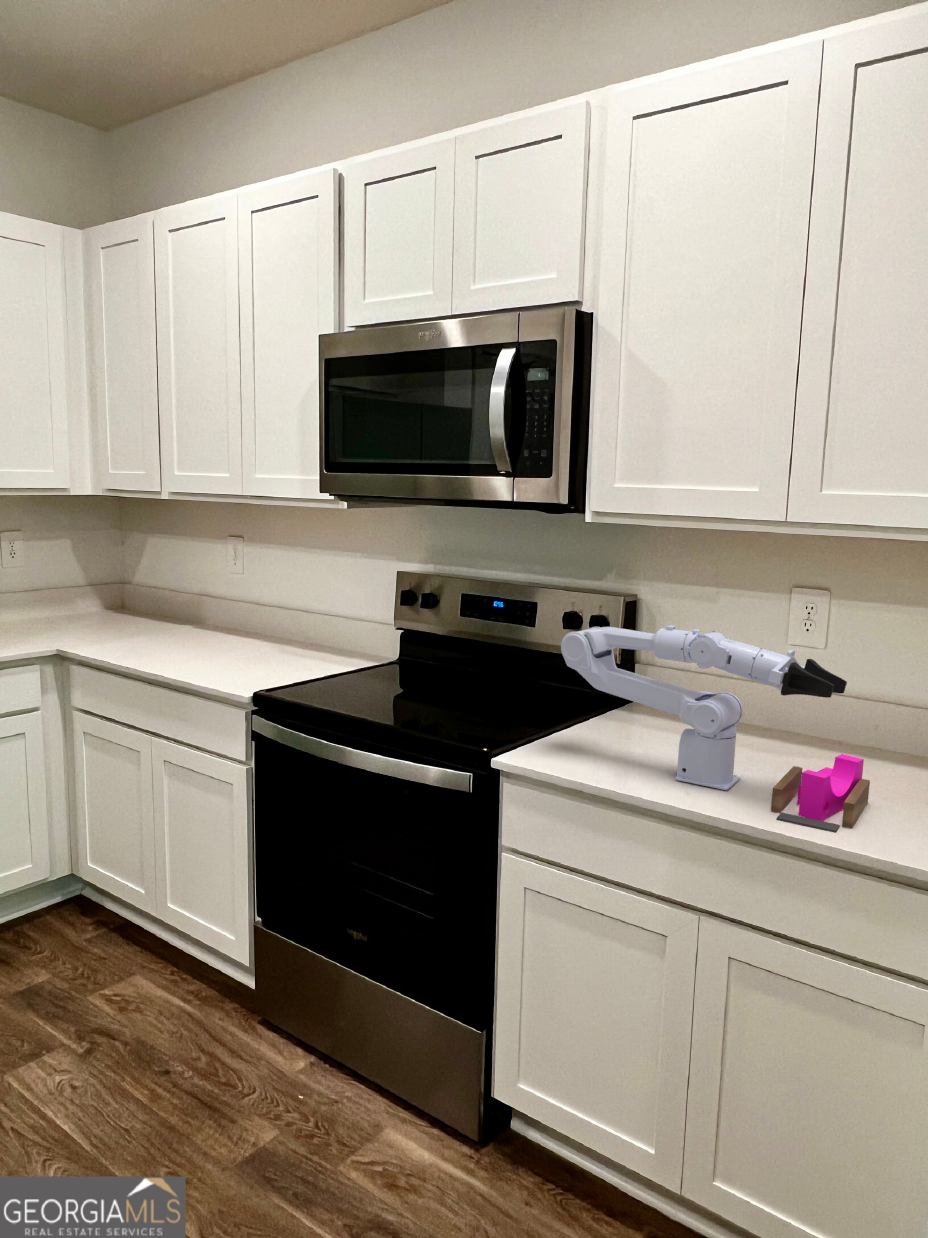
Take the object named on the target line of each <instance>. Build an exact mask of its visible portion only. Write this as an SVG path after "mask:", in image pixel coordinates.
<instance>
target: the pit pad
mask: <svg viewBox="0 0 928 1238" xmlns="http://www.w3.org/2000/svg"><path fill="white" fill-rule="evenodd" d="M776 820H777V821H781V822H785V823H791V824H794V825H799V826H804V827H807V828H814V829H818V830H824V831H826V832H827V831H828V832H831V833H837V832H838V830H839V829H840V827H841V825H840V824H839V823H838V824H837V823H834V822H828V821H825V820H824V821H820V820H815V819H810V818H806V817H802V816H799V815H797V814H796V815H795V814H790V813H786V812H783V811H782V812H781V813H778V816H777V817H776Z"/></svg>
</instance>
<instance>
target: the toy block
mask: <svg viewBox="0 0 928 1238" xmlns="http://www.w3.org/2000/svg"><path fill="white" fill-rule="evenodd" d="M863 771H864V758H860V757H857V756H852V755H847V754H842V753H841V754H839V755H836V756H835V757H834V762H833V767H832V768H831V767H828V766H827V767H824V768H821V769H819V770H817V771H815V770H814V771H813V770H810V769H806V770H804V771H802V779H801V786H799V788H798V793H797V801H796V802H797V803H796V805H797V806H798V816H801V817H806V818H810V819H815V820H820V821H824V822H825V821H826V820H827V819H829V818H831V817H833V816H835V815H836V814H838V813H840V812H843V809H844V802H845V800H846V799H847V797H848V796H849V794H850V793H851V792H852V790H853V789H854V787H855V786H856V784H857V783H858V781H859V780H860V779H863V774H864V772H863Z"/></svg>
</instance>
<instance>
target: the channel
mask: <svg viewBox="0 0 928 1238" xmlns="http://www.w3.org/2000/svg"><path fill="white" fill-rule="evenodd" d="M802 772H803V767H800V766H794V765H793V766H792V767H791V768H790V769H789V771H787V773H786V774H784V776H783V777H781V778H780V780H778V781H777V783H776V784H775V785H774V786H773V787H772V791H771V804H770V805H771V806H770V812H772V813H777V814H780V813H781V812H782V813H783V810H785V808H786V807H787V806H788V805H789V804H790V802H791V801H792V800H793V799H794V798H795V797H796V796H797V795H798V788H799V786H801V780H802ZM870 784H871V780H869V779H864V778H862V779H860V780H859V781H858V783H857V784H856V786H855V787H854V789H853V790H852V792H851V793H850V794H849V796H848V797H847V799H846V800H845V802H844V809H843V810H842V821H841V822H842V823H841V827H842V828H847V829H853V828H854V826H855V824H856V823H857V821H858V819H859V818H860V817H861V815H862V813H863V811H864V810H865V808H866V806H868V804H869V794H870V787H871V786H870Z"/></svg>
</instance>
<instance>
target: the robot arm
mask: <svg viewBox="0 0 928 1238" xmlns="http://www.w3.org/2000/svg"><path fill="white" fill-rule="evenodd" d="M615 649H625V650H637V651H647V652H652V653H653V655H654V656H655V657H656V658H657V659H659V660H663V661H664V660H665V661H673V662H679V663H686V664H693V663H694V664H696V666H697V668H699V669H709V668H710V669H711V668H713V667H714V668H715V669H718V670H722V671H725V672H727V673H729V674H732V675H736V676H738V677H742V678H745V679H747V680H751V681H753V682H757V683H760V684H763V685H765V686H769V687H773V688H776V689H777V690H778V691H780V695H781V696H791V695H792V696H793V695H797V696H798V695H799V696H800V695H801V696H802V695H803V696H811V697H812V696H813V697H817V698H827V699H828V698H829V699H830V698H832V695H833V694H845V690H846V687H847V683H848V681H846V680H845V679H844V678H842V677H840V676H838V675H836V674H834V673H832V672H830V671H828V670H826V669H825V668H824V667H822V666H821V665H820V664H819V663H818V662H817V661H815V660H814V659H812V658H806V661H805V665H802V664H800V663H799V662H798V661H797V659H796V658H795V654H796V651H795V650H793V649H788V650H787V654H786V655H785V654H782V653H780V652H779V653H778V652H775V651H772V650H768V649H765V648H762V647H760V646H759V647H758V646H755V645H752V644H748V643H746V642H741V641H736V640H733V639H731V638H728V637H727V636H726V634H723V633H722V632H718V631H715V630H710V631H707V632H705V633H701V630H700V629H697V628H695V629H692V630H682V629H676V625H666V626H665V627H663V628H659V630H658V631H656V632H655V633H652V632H645V631H638V630H633V629H627V628H620V627H614V626H602V627H600V626H592V627H589V628H587V629H583V630H579V631H570V632H568V633H566V634H565V635H564V636H563V637H562V640H561V642H560V650H561V651H560V652H561V654H562V657H563V659H564V661H565V664H566V666H567V667H569V668H571V669H573V670H575V671H576V672H577V673H578V674H579V675H580V676H582V678H583V679H585V681H586V682H588V683H589V685H591V686H592V687H593V688H594V689H596V690H598V691H601V692H604V693H606V694H609V695H613V696H616V697H619V698H622V699H625V700H629V701H631V702H635V703H638V704H641V705H643V706H647V707H649V708H653V709H656V710H659V711H662V712H666V713H668V714H671V715H674V716H677V717H679V719H680V722H682V723H683V724H685V725H688V726H690V727H692V728H685V729H684V730H683V731H682V733H681V735H680V739H679V743H678V756H677V770H676V771H677V772H676V773H677V774H676V776H675V780H676V781H680V782H684V783H689V784H693V785H699V786H704V787H708V788H714V789H719V790H723V791H728V790H730V789H731V788H732V787H733V786H734V785H735V784H736V783H738V781H740V780H741V776H739V775H735V774H734V771H735V758H736V757H735V756H736V744H737V743H736V741H737V729H736V725H737V724H738V723H739V722H740V721H741V720H742V717H743V714H744V711H743V709H744V708H743V704H742V702H741V700H740V699H739V697H737V696H736V695H735V694H733V693H731V692H728V691H721V692H715V693H714V692H711V691H707V690H691V689H687V688H685V687H681V686H679V685H675V684H672V683H667V682H664V681H662V680H659V679H655V678H651V677H648V676H646V675H642V674H639V673H635V672H632V671H628V670H626V669H622V668H618V667H617V665H616V661H615V659H616V658H615V655H614V654H615V653H614V650H615Z"/></svg>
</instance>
